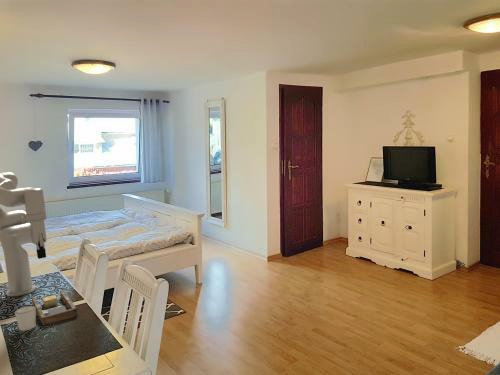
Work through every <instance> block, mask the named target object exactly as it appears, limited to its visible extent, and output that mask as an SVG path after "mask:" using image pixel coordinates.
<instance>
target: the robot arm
mask: <svg viewBox="0 0 500 375" xmlns="http://www.w3.org/2000/svg"><path fill="white" fill-rule="evenodd" d="M18 184H19V182H18V177H17V175H16V174H14V172H10V171H6V172H4V171H3V172H0V205H1V206H4V207H6V208H14V207H21V206H25V211H24V210H21V209H18V210H17V209H16V210H12V211H11V210H10V211H4V210H3V209H2V207H0V245H1V247H2V251H3V256H4V262H5V268H6V269H5V270H6V276H7V283H8V289H7V290H6V291H5V295H6V296H7V297H19V296H25V295H27V294H30V293H33V292H34V291H36V289H37V285H36V284H33V282H32V280H33V279H32V274H31V267H30V259H29V253H28V251H27V250H26V249H25V248H24V247H23V246H24V245H26V244H30V243H33V245H35V246H36V255H37V259H39V260H40V259H44V258H47V253H46V252H47V251H46V248H45V247H46V246H45V243H46V242H47V234H46V233H47V232H46V225H45V220H47V211H46V204H45V196H44V190H43V189H42V188H41V187H33V186H32V187H31V186H28V187H27V186H26V187H19V188H17V187H18Z"/></svg>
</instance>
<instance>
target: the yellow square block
mask: <svg viewBox="0 0 500 375" xmlns="http://www.w3.org/2000/svg"><path fill="white" fill-rule="evenodd" d="M42 303H43V306H44V308H49V307H54V306H57V305H59V304H58V298H57V296H56V294H54V295H49V296H44V297H42Z"/></svg>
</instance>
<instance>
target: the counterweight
mask: <svg viewBox="0 0 500 375" xmlns="http://www.w3.org/2000/svg"><path fill="white" fill-rule="evenodd" d="M65 310H67V308H66V307H65V305H62V306H58V307H54V308H50V309H48V310H47V313H48V314H47V315H51V314H55V313H58V312H62V311H65Z"/></svg>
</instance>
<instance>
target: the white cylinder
mask: <svg viewBox="0 0 500 375" xmlns="http://www.w3.org/2000/svg"><path fill="white" fill-rule="evenodd" d="M14 314H15V315H14V316H15V319H16V324H17V325H18V329H19V330H18V331H24V332H25V331H30V330H32V329H34V328H35V327H36V326H37V320H36V319H37V318H36V317H37V313H36V309H35V307H34V306H33V305H27V306H23V307H21V308H18V309H16V310H15V311H14Z"/></svg>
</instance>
